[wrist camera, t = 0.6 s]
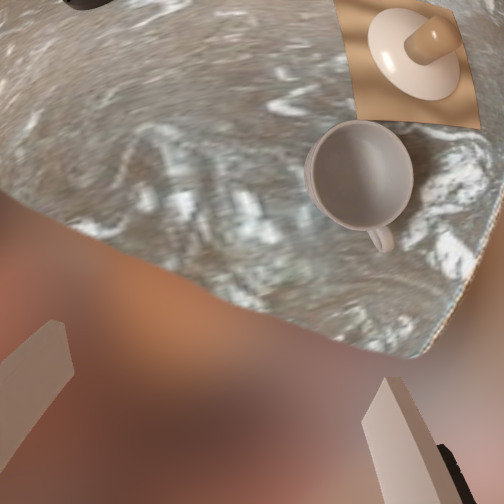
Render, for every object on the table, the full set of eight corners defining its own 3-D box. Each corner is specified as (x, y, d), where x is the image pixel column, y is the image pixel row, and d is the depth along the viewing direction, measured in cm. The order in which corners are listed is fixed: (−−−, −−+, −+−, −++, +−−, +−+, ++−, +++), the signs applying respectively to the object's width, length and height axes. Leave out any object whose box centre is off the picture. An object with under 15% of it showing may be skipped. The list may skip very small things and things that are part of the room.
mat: (330, -12, 26) (330, -13, 25) (450, 11, 24) (451, 10, 24) (357, 120, 31) (358, 119, 31) (479, 129, 30) (480, 129, 29)
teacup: (289, 138, 32) (297, 129, 24) (375, 122, 31) (403, 112, 23) (316, 252, 36) (330, 274, 28) (396, 232, 34) (426, 248, 27)
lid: (356, 5, 26) (375, -27, 18) (442, 21, 25) (471, 0, 17) (377, 97, 30) (407, 79, 21) (463, 106, 29) (501, 98, 20)
